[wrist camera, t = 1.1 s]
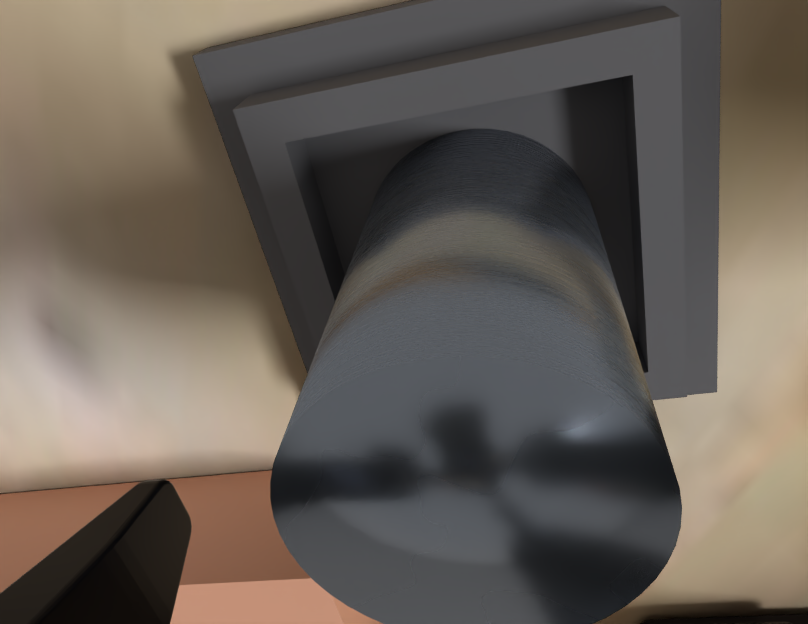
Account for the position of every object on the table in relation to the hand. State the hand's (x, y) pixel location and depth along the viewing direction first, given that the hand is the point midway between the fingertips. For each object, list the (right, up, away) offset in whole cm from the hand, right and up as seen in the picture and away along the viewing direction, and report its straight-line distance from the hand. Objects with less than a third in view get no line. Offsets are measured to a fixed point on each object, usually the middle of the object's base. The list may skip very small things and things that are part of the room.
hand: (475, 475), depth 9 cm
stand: (+1, +4, +7) cm, 8 cm away
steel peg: (+1, +4, +6) cm, 7 cm away
